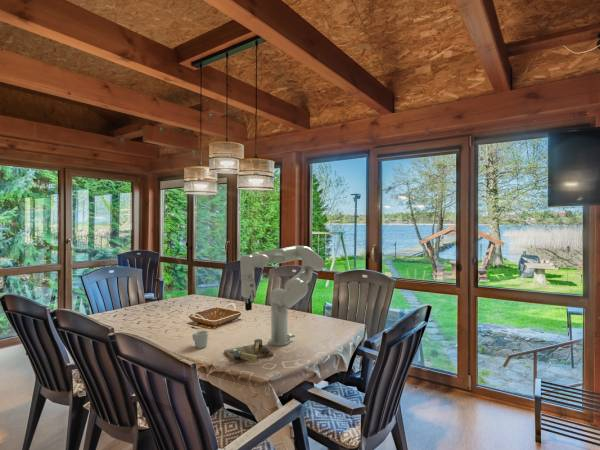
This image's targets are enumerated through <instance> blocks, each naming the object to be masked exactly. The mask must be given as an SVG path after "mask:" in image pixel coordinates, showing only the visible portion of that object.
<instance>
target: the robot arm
mask: <svg viewBox="0 0 600 450" xmlns="http://www.w3.org/2000/svg"><path fill="white" fill-rule="evenodd" d="M298 260H299V261H302V262H301V269H300V271H299V272H298V273H296V275H294V276H292V277H291V278H290V279H288V280H287V281H286V282H285V284H284V289H283V288H278V287H276V288H274V289H272V290H271V292H270V295H269V303H270V313H271V315H270V317H271V318H270V320H271V323H270V324H271V327H270V329H271V331H270V332H271V338H270V339H268V344H269V345H271V346H275V347H283V346H287V345H289V344H290V343H291V339H292V338H295V337H296V334H295V333H288V332H289V329H288V309H289V308H290V309H291V307H293V306H294V305H296V304H297V303H298V302H300V301H301V300H302V299H303V298H305V296H306V295H307V294H308V292H309V283H310V282H311V281H312V278H313V274H314V273H313V272H314V271H316V272H320V271H321V270H324V267H325V260H324V258H323V257H321V256H320V255H319V254H318V253H317V252H315V251H314V250H313V249H311V247H309V246H306V245H292V246H286V247H283V248H282V247H281V248H276V249H275V248H274V249H266V250H262V251H260V250H259V251H255V252H252V253H251V254H242V255H241V256H240V258H239V261H240V263H239V265H240V281H241V285H240V293H241V296H242V297H243V299H244V307H245V311H246V312H248V311H252V310H253V305H252V304H253V302H254V299H256V298H257V288H256V287H257V286H256V281H255V268H265V267H267V266H268V264H273V263H275V264H284V263H287V262H292V261H293V262H294V261H298Z"/></svg>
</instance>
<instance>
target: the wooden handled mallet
mask: <svg viewBox="0 0 600 450" xmlns="http://www.w3.org/2000/svg"><path fill="white" fill-rule="evenodd" d="M234 359H243V360H248V362H251V363H256V362H258V359H257V355H252V354H248V353H243V351H242V350H236V351H234Z"/></svg>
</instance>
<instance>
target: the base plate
mask: <svg viewBox="0 0 600 450" xmlns="http://www.w3.org/2000/svg"><path fill="white" fill-rule="evenodd" d="M236 350H242V351H243V353H248V354H252V355H257V360H262V359H266V358H270V357H274V352H273V351H271V350H270V348H269V347H266V346H264V344H262V347H259V352H258V353H255V346H254V344H249V345H242V346H237V347H234V348H228V349H224V350H223V351H224V354H225V355H226V356H227V357H228V358H229V359H230V361H232V362H233V363H234V364H235V365H238V364H244V363H247V362H249V361H248V360H243V359H234V351H236Z"/></svg>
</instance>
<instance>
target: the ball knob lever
mask: <svg viewBox="0 0 600 450" xmlns="http://www.w3.org/2000/svg"><path fill="white" fill-rule="evenodd" d="M253 342H254V346H255V353H258V352H259V347H262V345H263V339H262V338H256V339H254V341H253Z"/></svg>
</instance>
